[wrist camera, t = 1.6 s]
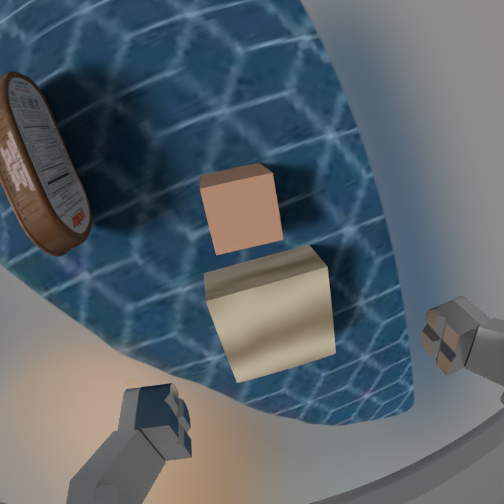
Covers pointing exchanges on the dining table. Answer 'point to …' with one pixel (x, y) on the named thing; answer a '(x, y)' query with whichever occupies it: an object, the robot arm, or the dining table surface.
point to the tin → (39, 170)
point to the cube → (241, 207)
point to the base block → (272, 312)
